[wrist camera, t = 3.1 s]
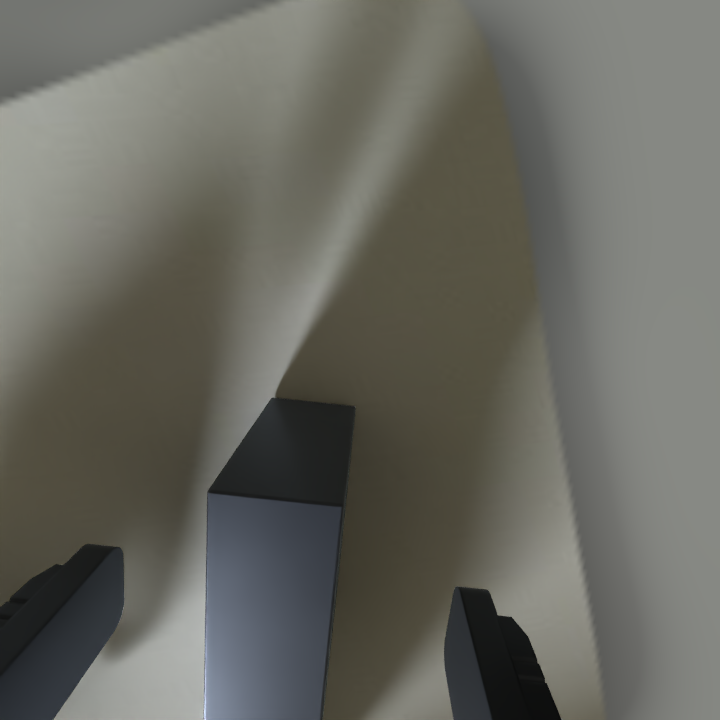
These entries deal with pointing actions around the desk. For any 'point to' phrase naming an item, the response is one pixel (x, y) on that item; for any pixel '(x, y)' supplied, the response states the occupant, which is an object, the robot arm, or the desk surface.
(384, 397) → the desk surface
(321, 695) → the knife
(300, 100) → the desk surface
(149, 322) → the desk surface
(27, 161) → the desk surface
